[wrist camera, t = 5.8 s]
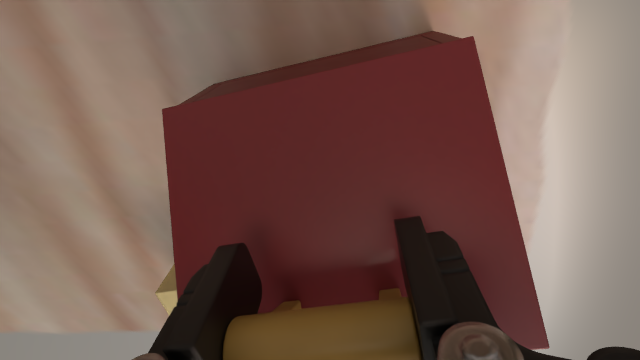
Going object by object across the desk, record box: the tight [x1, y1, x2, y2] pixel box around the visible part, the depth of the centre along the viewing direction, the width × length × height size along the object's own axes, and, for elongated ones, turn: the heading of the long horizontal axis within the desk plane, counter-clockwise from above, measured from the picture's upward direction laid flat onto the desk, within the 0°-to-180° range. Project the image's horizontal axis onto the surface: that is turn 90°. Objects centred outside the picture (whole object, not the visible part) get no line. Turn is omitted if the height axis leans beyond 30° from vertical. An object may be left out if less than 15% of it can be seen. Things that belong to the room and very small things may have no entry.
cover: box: [162, 36, 549, 360], centre depth 10 cm, size 11×13×5 cm
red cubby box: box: [180, 31, 462, 105], centre depth 18 cm, size 10×13×5 cm
